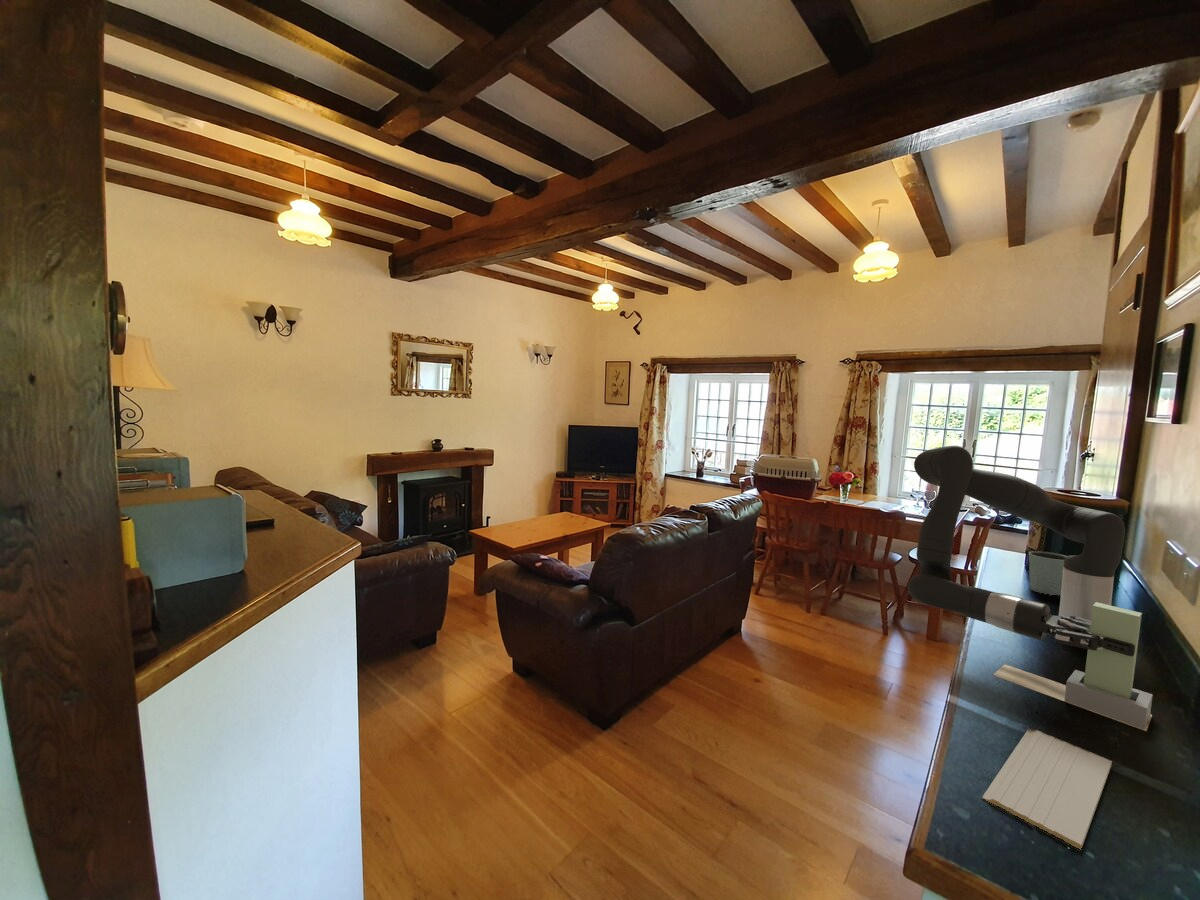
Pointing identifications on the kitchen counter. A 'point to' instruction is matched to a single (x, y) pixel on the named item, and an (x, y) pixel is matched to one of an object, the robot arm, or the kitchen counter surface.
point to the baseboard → (1051, 785)
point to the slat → (1107, 665)
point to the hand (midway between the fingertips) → (1135, 648)
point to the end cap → (1109, 701)
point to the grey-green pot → (1046, 572)
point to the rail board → (1040, 685)
